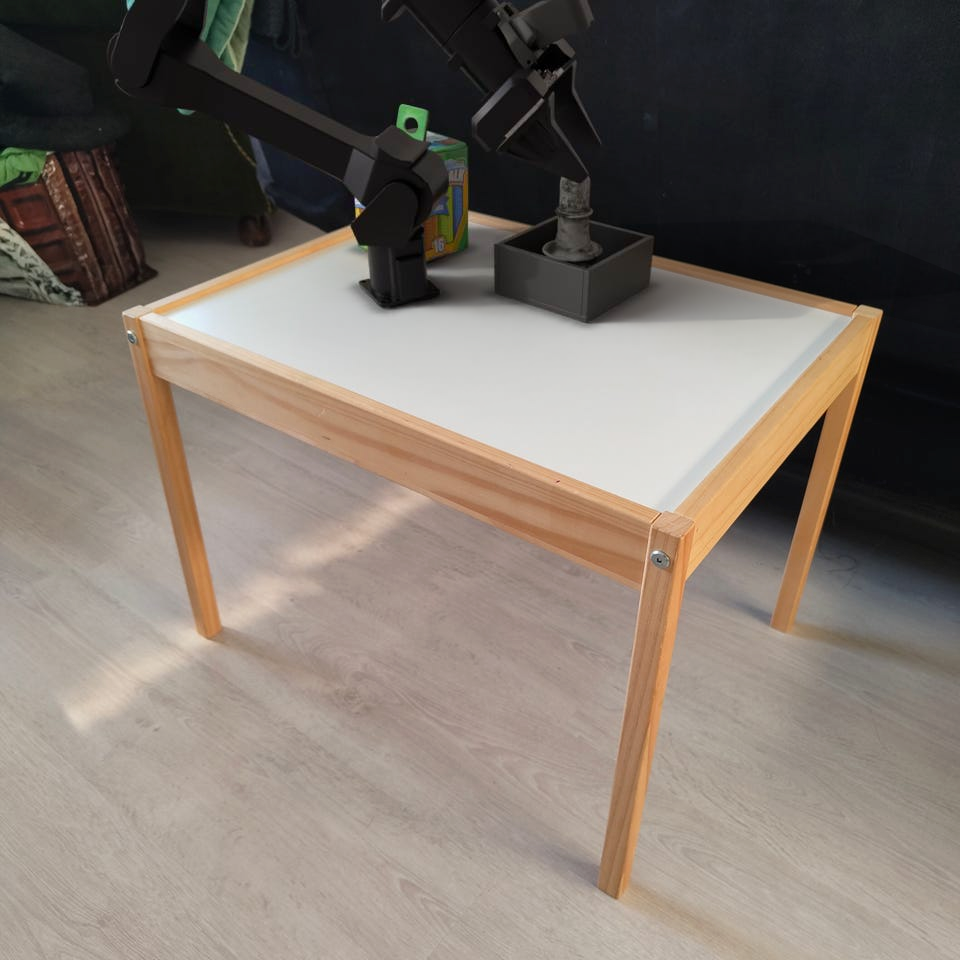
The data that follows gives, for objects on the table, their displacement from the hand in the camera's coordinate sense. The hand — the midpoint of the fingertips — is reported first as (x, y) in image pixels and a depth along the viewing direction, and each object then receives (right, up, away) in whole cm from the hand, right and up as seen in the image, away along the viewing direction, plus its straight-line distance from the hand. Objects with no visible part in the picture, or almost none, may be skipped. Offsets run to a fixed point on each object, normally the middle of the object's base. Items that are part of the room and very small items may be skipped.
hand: (591, 163), depth 79 cm
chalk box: (-17, -2, +21) cm, 27 cm away
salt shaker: (-1, -8, +11) cm, 14 cm away
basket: (-1, -9, +11) cm, 14 cm away
